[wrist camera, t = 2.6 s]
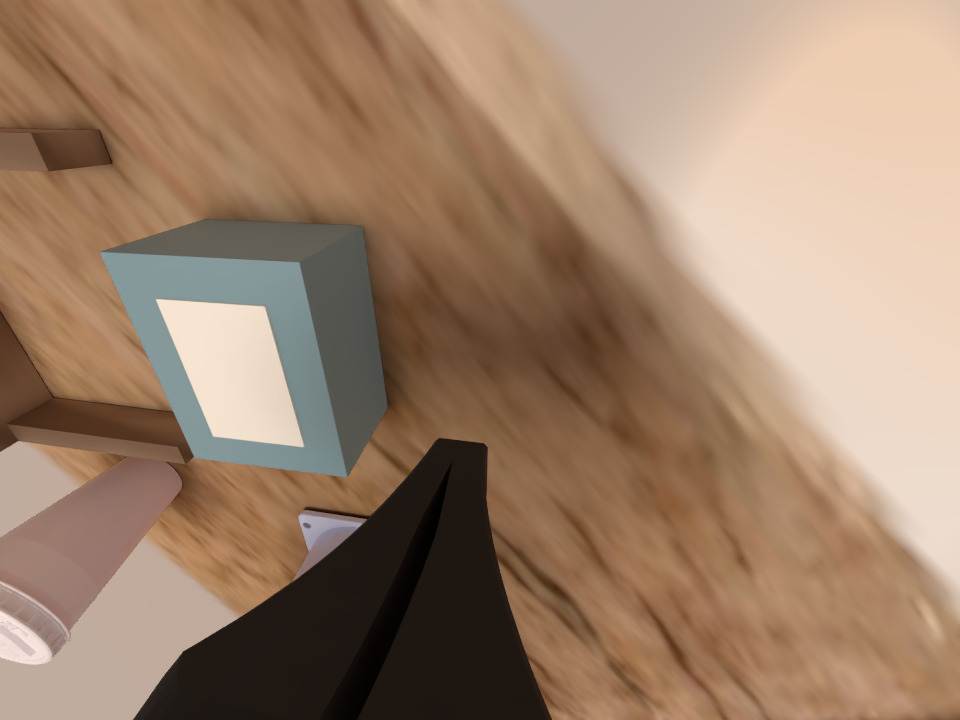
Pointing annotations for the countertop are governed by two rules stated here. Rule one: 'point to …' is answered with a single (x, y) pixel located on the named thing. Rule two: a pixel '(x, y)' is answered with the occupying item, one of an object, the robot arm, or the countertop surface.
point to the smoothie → (75, 554)
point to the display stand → (15, 382)
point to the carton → (260, 338)
